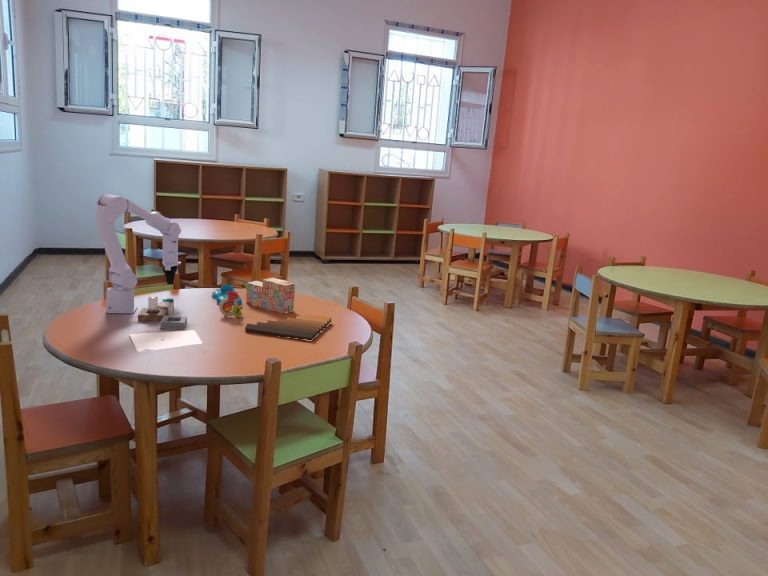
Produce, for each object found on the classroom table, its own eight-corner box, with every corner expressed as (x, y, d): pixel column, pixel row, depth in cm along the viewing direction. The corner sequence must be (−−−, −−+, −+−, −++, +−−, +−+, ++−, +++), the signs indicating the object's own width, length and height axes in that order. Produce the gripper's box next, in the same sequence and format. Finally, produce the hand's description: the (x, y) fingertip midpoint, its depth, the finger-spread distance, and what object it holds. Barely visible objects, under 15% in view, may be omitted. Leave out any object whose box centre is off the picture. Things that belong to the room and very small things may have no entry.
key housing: (156, 314, 217) (156, 306, 217) (159, 310, 223) (159, 301, 222) (170, 314, 218) (170, 306, 218) (173, 310, 224) (173, 302, 223)
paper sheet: (201, 331, 203) (201, 329, 203) (213, 363, 178) (213, 360, 178) (129, 334, 193) (129, 331, 193) (130, 368, 168) (130, 365, 168)
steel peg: (147, 319, 211) (147, 298, 209) (149, 316, 214) (149, 296, 212) (157, 319, 211) (156, 298, 210) (158, 317, 214) (158, 296, 213)
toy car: (235, 295, 256) (235, 280, 255) (244, 306, 240) (244, 290, 239) (210, 296, 251) (210, 281, 250) (218, 306, 236) (218, 291, 234)
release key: (160, 310, 222) (160, 303, 221) (163, 305, 229) (163, 298, 228) (171, 310, 223) (171, 303, 222) (173, 305, 229) (173, 298, 229)
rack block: (160, 329, 201) (160, 322, 201) (163, 322, 209) (163, 315, 208) (184, 329, 203) (184, 322, 202) (186, 322, 211) (187, 316, 210)
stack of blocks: (245, 303, 243) (246, 275, 240) (256, 301, 248) (257, 273, 245) (283, 314, 232) (285, 284, 230) (293, 311, 238) (295, 282, 235)
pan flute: (244, 333, 206) (311, 343, 201) (245, 324, 205) (311, 334, 201) (271, 316, 230) (331, 324, 225) (271, 308, 229) (331, 316, 224)
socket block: (137, 321, 207) (137, 314, 207) (142, 314, 216) (142, 308, 215) (164, 321, 209) (164, 315, 209) (167, 315, 218) (167, 308, 217)
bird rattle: (227, 324, 219) (248, 314, 222) (215, 299, 215) (237, 290, 218) (224, 320, 225) (245, 310, 227) (213, 295, 221) (234, 286, 223)
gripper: (178, 254, 223) (178, 288, 226) (183, 248, 237) (182, 280, 240) (159, 254, 221) (159, 288, 225) (164, 247, 235) (165, 279, 238)
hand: (170, 284), depth 232 cm, fingers closed
